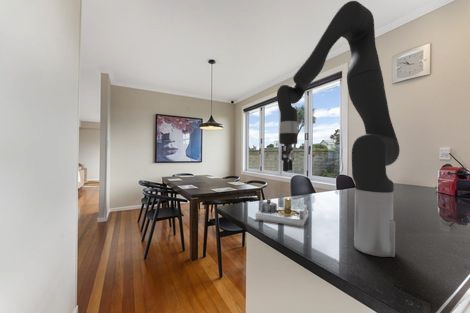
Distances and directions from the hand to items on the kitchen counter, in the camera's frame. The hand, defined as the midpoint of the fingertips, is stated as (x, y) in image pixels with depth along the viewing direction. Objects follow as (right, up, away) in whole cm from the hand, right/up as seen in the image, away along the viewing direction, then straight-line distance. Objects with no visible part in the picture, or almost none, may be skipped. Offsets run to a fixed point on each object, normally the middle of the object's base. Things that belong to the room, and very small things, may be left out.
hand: (287, 170), depth 89 cm
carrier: (-2, -20, +1) cm, 20 cm away
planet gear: (0, -20, 0) cm, 20 cm away
